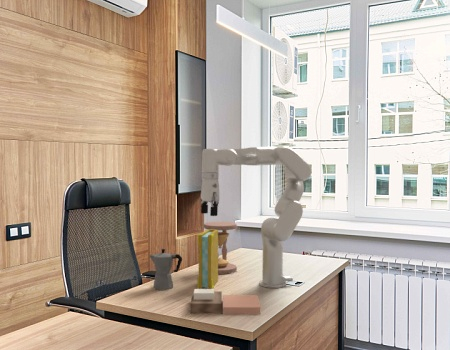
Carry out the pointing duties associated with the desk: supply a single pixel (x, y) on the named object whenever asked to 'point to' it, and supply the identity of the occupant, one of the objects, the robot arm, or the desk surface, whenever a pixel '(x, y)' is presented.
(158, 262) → the coffeepot
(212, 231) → the book
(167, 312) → the desk surface
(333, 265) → the desk surface
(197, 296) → the tile
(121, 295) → the desk surface
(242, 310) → the mat
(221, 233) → the hourglass
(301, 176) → the robot arm
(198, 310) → the deck
